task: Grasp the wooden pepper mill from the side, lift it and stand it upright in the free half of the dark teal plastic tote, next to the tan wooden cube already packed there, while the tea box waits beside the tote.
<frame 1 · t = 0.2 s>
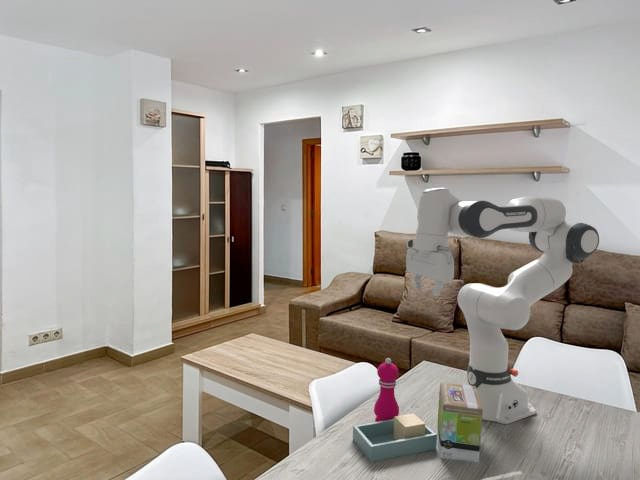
hand: (426, 292, 135), 39 cm above the table, tool pointing down, fingers open, 8 cm apart
pepper mill: (386, 425, 137), on the table
tote: (393, 446, 126), on the table
tan wooden cube: (408, 441, 127), point 1 cm above the table, touching tote
tea box: (457, 447, 126), on the table
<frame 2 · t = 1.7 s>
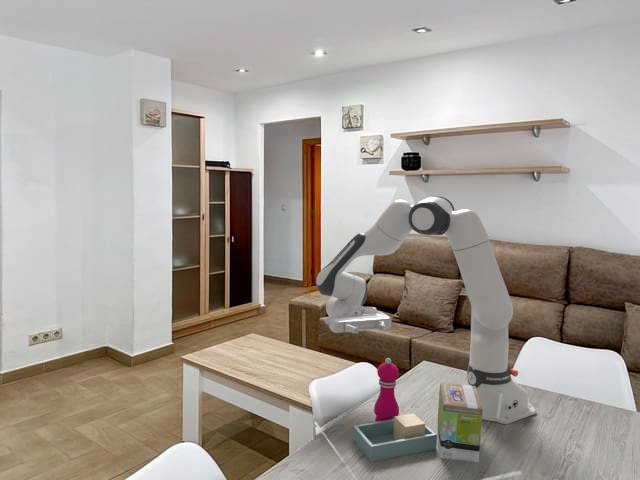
hand: (370, 329, 146), 25 cm above the table, tool horizontal, fingers open, 8 cm apart
nothing on the table moved.
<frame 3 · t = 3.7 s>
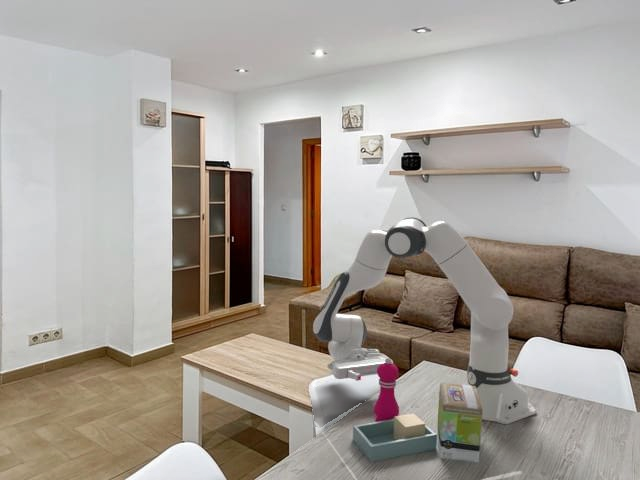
hand: (372, 376, 145), 11 cm above the table, tool horizontal, fingers open, 8 cm apart
nothing on the table moved.
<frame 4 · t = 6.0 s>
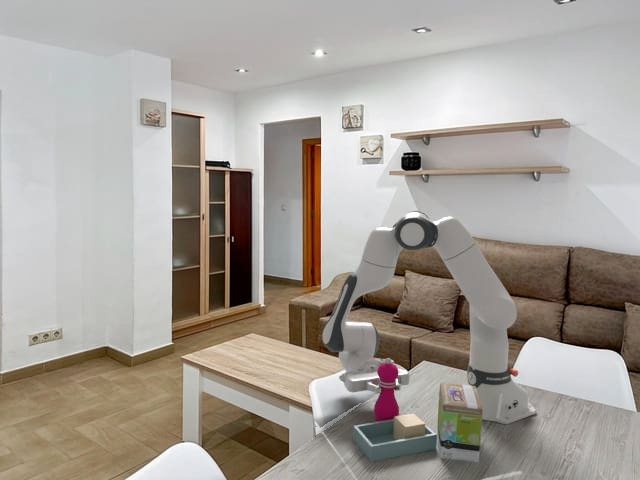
hand: (388, 389, 135), 11 cm above the table, tool horizontal, fingers closed on pepper mill, 5 cm apart
pepper mill: (386, 425, 137), on the table, touching gripper
everything else where it was.
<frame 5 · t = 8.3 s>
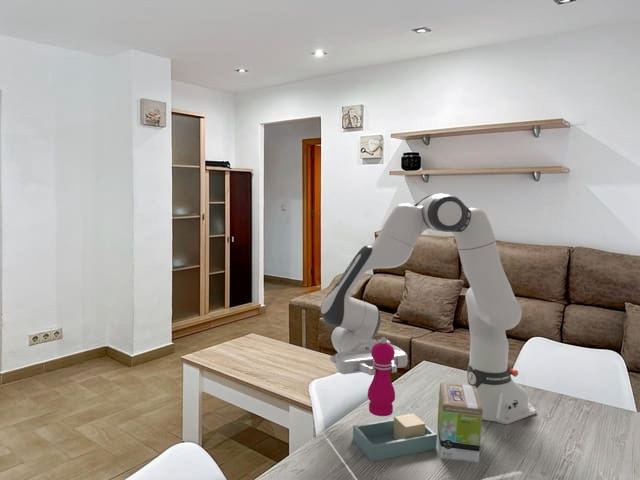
hand: (383, 371, 123), 21 cm above the table, tool horizontal, fingers closed on pepper mill, 5 cm apart
pepper mill: (380, 411, 125), point 10 cm above the table, touching gripper
everything else where it was.
when the fingers open (13 cm above the table, at t = 10.8 s): pepper mill drops 1 cm, resting on tote.
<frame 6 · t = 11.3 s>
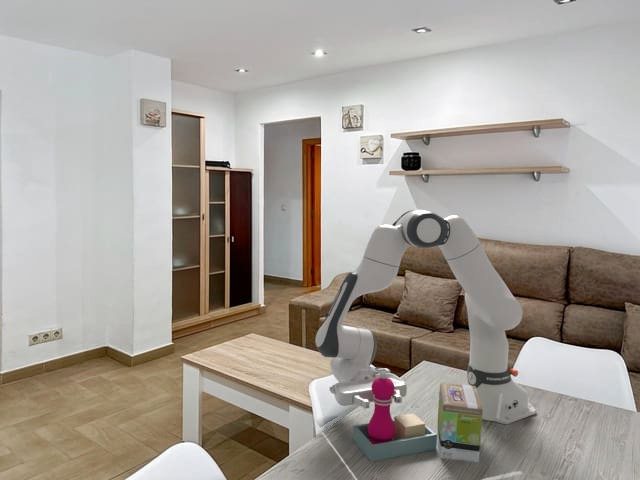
hand: (383, 402, 122), 13 cm above the table, tool horizontal, fingers open, 8 cm apart
pepper mill: (380, 446, 125), resting on tote
everything else where it was.
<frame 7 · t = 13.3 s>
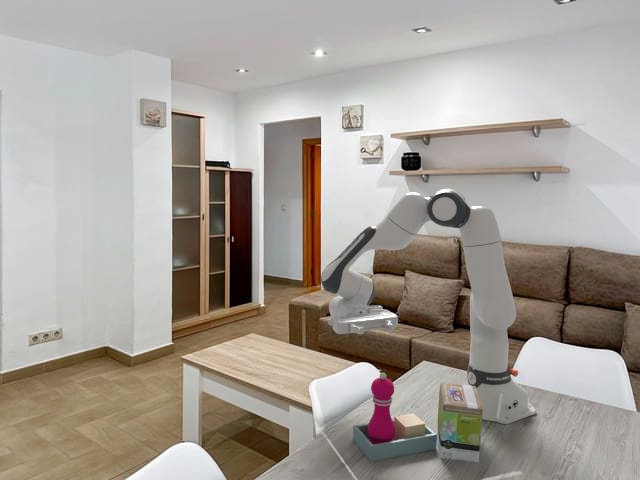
hand: (376, 329, 136), 28 cm above the table, tool horizontal, fingers open, 8 cm apart
nothing on the table moved.
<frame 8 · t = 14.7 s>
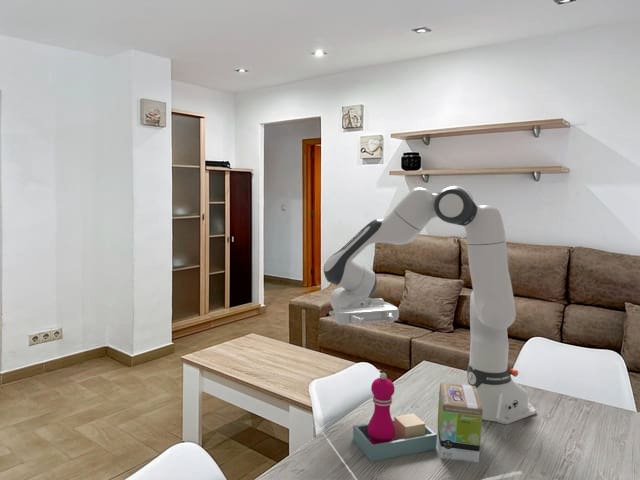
hand: (377, 321, 137), 30 cm above the table, tool horizontal, fingers open, 8 cm apart
nothing on the table moved.
at the end: pepper mill inside the target area on the tote (0.2 cm from its centre), point 0.4 cm above the tote's base; pepper mill tilted 0°; the gripper is holding nothing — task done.
